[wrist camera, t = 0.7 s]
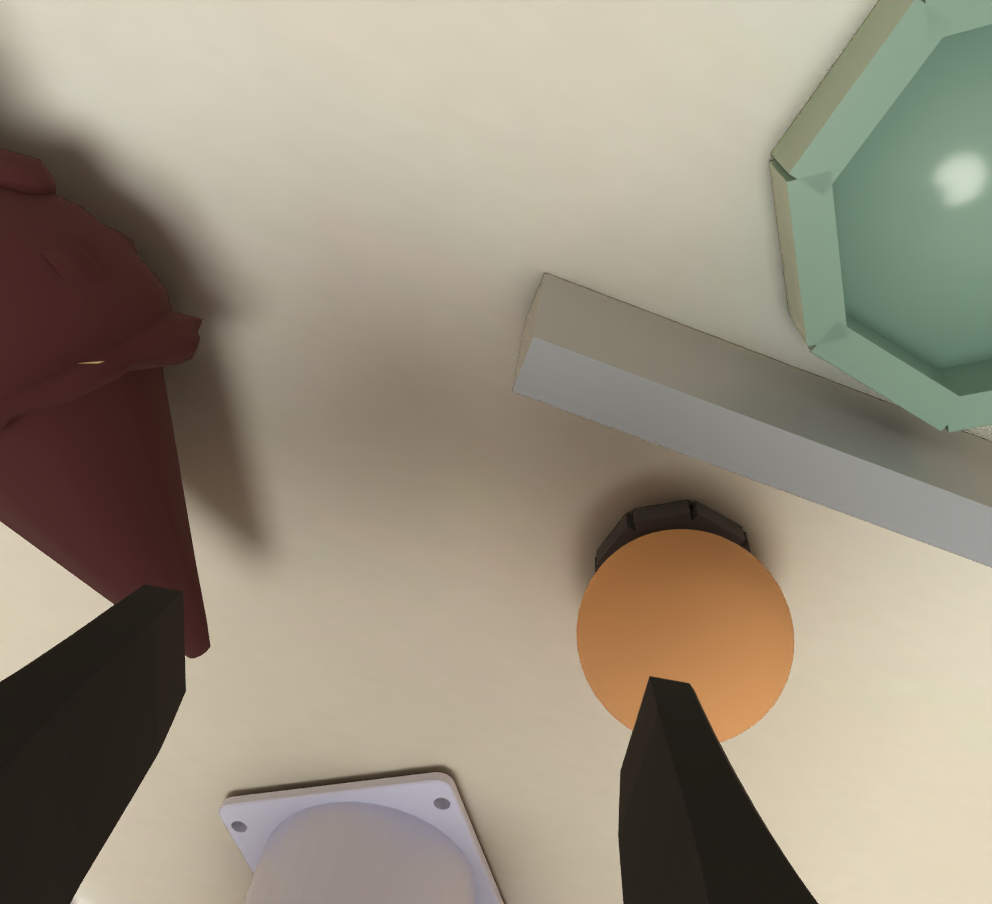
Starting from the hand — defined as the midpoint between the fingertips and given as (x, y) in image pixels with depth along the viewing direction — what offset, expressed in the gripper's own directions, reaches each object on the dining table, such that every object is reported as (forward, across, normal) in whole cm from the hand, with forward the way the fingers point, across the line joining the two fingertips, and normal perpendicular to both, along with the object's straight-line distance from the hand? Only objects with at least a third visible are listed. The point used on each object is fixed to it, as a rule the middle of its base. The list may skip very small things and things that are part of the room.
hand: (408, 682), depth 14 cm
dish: (+10, -10, -7) cm, 15 cm away
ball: (+7, -6, +3) cm, 10 cm away
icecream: (+10, +9, -1) cm, 14 cm away
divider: (+10, -8, -2) cm, 12 cm away
